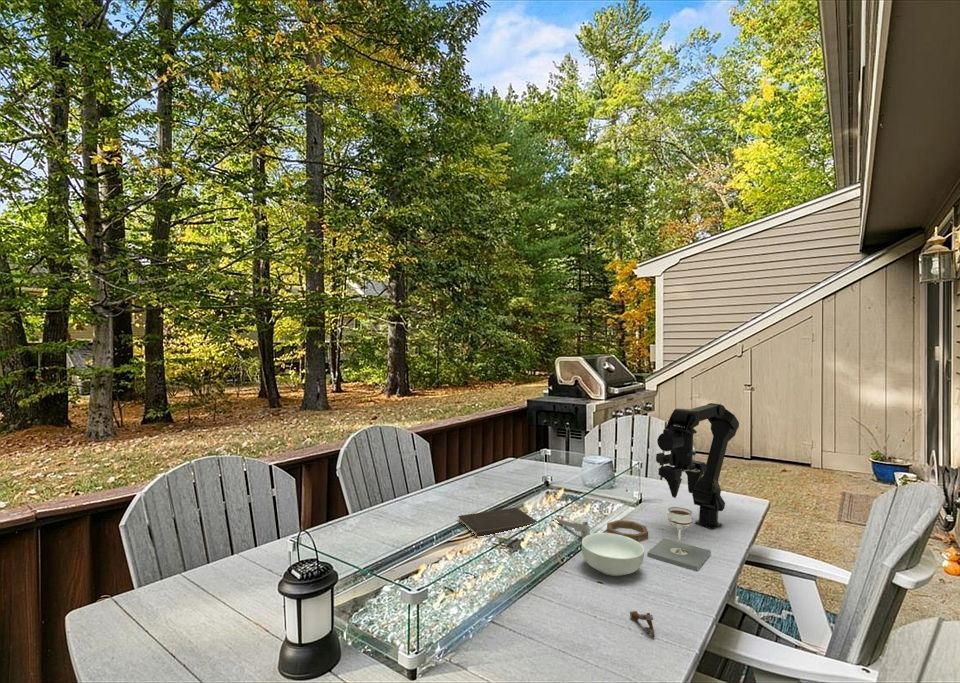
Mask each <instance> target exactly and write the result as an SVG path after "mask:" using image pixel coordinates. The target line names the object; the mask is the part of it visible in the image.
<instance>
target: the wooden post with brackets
mask: <svg viewBox="0 0 960 683" xmlns="http://www.w3.org/2000/svg"><path fill="white" fill-rule="evenodd" d="M629 615H630V617H629V618H630V621H638V620H640V621H646V623H647V625H648V627H647V626H645V627H643V631H645V632H644V633H646V634H650V637H652V638H655V637H656V633H655V632H656V631H655V629H654V626H653V621H654V616H653V615H651V613H650V612H647V613H646V614H640V613H638V611H637V610H632V611H629Z"/></svg>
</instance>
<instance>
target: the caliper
mask: <svg viewBox="0 0 960 683" xmlns="http://www.w3.org/2000/svg"><path fill="white" fill-rule="evenodd" d="M553 519H555V520H557V521H558V522H559V523H560V524H559V525H563V526H566V527H568V528H572V529H574V532H577V533H578V532H580V535H581V538H582V540H583V538H584V537H585V536H587V535H590V534H591V533H590V532H591V531H590V525H588V521H585V520H582V521H581V522H577V521H575V522H573V521H570V520H565V519H562V518H558V517H553Z"/></svg>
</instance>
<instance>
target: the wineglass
mask: <svg viewBox="0 0 960 683" xmlns="http://www.w3.org/2000/svg"><path fill="white" fill-rule="evenodd" d="M667 511H668V514H667V520H668V522H669V523H670V525H671V526H673V527H674V528H675V529H676V530H677V536H678V537H677V539H678V540H677V542H678V548H671V549H670V551H671V552H673V553H675V554H679V555H686V554H688V551H686V550H685V549H682V548H680V542H681V536H682V534H681V533H682V531H683V530H684V529H685V530H686V529H687V528H689V527H691V525H692V524H693V516H692V514H693V512H692V510H690V509H688V508H684V507H681V506H680V507H678V506H674V507H673V506H671V507H668V510H667Z"/></svg>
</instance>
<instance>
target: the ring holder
mask: <svg viewBox="0 0 960 683" xmlns="http://www.w3.org/2000/svg"><path fill="white" fill-rule="evenodd" d="M619 528H620V529H630V530H635V531H636V532H639V533H626V532H625V533H623V532H620V531H619V530H617V529H619ZM606 530H607V533H612V534H618V535H622V536H626V537H629V538H631V539H633V540H635V541H637V542H639V543H641V542H642V541H646V540H648V539H649V532H648V529H647V526H646V525H642V524H641V523H639V522H638V523H637V522H635V521H630V520H617V519H616V520H614V521H611V522H607V524H606Z"/></svg>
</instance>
